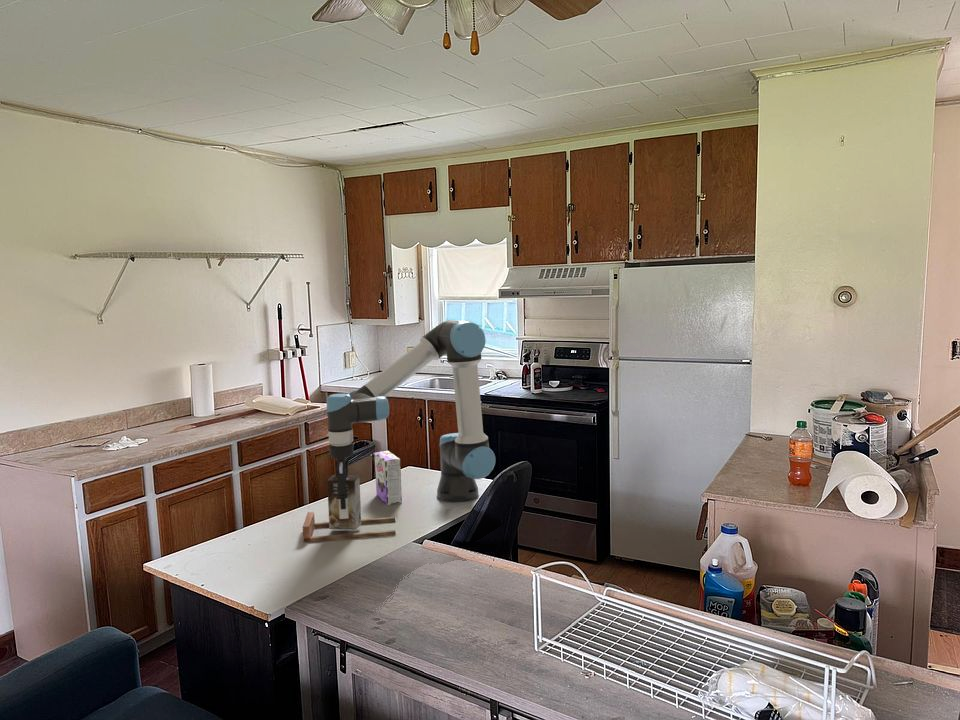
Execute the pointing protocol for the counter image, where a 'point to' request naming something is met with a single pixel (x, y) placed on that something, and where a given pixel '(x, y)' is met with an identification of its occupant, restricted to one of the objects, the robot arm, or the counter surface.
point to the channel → (310, 525)
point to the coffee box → (353, 503)
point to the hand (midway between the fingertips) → (344, 513)
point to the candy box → (388, 477)
